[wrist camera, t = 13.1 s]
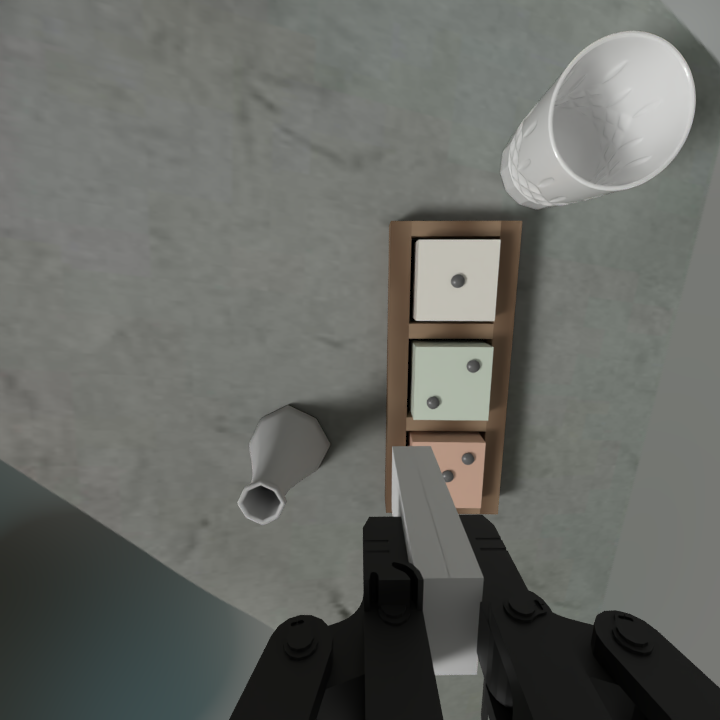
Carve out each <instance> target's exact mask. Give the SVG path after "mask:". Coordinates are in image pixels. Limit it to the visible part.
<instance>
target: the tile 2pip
mask: <svg viewBox="0 0 720 720" xmlns="http://www.w3.org/2000/svg"><path fill="white" fill-rule="evenodd" d="M493 349H494V347H492V346H491V345H489V344H487V343H485V342H483V341H456V340H411V370H410V405H409V407H410V410H411V414H412V417H413V420H480V421H488V416H489V403H490V389H491V376H492V362H493Z"/></svg>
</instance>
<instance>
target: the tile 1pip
mask: <svg viewBox="0 0 720 720" xmlns="http://www.w3.org/2000/svg"><path fill="white" fill-rule="evenodd" d="M500 243H501V240H418V241H416V242H415V243H414V257H413V292H412V317H413V318H414V319H415V320H416V321H495V310H496V297H497V283H498V270H499V256H500Z"/></svg>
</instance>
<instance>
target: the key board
mask: <svg viewBox="0 0 720 720" xmlns="http://www.w3.org/2000/svg"><path fill="white" fill-rule="evenodd" d="M521 232H522V221H391V222H390V225H389V277H388V340H387V402H386V465H385V504H386V513H392V446H406V431H478V432H479V434H480V435H481V437H482V438H483V440H484V441H485V442H486V446H485V460H484V473H483V487H482V500H481V508H456V510H457V512H458V514H498V505H499V493H500V481H501V469H502V457H503V446H504V434H505V422H506V410H507V398H508V386H509V374H510V363H511V351H512V339H513V327H514V315H515V303H516V291H517V280H518V268H519V256H520V244H521ZM411 239H490V240H501V243H500V256H499V270H498V283H497V297H496V310H495V321H416V320H409V308H410V271H411ZM409 338H411V339H483V342H485V343H487V344H489V345H491V346H492V347H494V349H493V362H492V376H491V389H490V403H489V416H488V421H480V420H413V417H412V414H411V410H410V408H407V381H408V344H409Z"/></svg>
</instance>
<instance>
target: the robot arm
mask: <svg viewBox="0 0 720 720" xmlns="http://www.w3.org/2000/svg"><path fill="white" fill-rule="evenodd" d="M392 515H393V517H369V518H368V520H367V522H366V523H365V525H364V527H363V580H364V594H363V601H362V603H361V605H360V607H359V608H358V610H357V611H356V612H355V613H354V614H353V615H352V616H350V617H349V618H348V619H345V620H343V621H341V622H339V623H335V624H332V625H329V626H328V625H327V624H326V623H325V622H324V621H323V620H322V619H319V618H317V617H315V616H312V615H299V616H296V617H293V618H289V619H288V620H286V621H285V622H283V623H282V624H281V625H279V626H278V627H277V629H276V630H275V632H274V633H273V634H272V636H271V637H270V639H269V641H268V643H267V646H266V648H265V649H264V652H263V654H262V655H261V658H260V659H259V661H258V663H257V665H256V667H255V669H254V671H253V673H252V675H251V677H250V679H249V681H248V683H247V685H246V687H245V689H244V691H243V693H242V695H241V697H240V699H239V701H238V703H237V705H236V707H235V709H234V711H233V713H232V715H231V717H230V719H229V720H443V716H442V710H441V705H440V700H439V694H438V689H437V684H436V678H435V675H477V663H478V659H479V662H480V665H481V668H482V672H483V675H484V684H483V697H482V709H481V720H488V716H489V719H490V720H720V688H719V687H718V686H717V685H716V684H715V683H714V682H712V681H711V680H710V679H709V678H708V677H707V676H706V675H705V674H703V672H702V671H701V670H699V669H698V668H697V667H696V666H695V665H694V664H693V663H692V662H691V661H690V660H689V659H687V658H686V657H685V656H684V655H683V654H682V653H681V652H680V651H679V650H677V648H675V647H674V646H673V645H672V644H671V643H670V642H669V641H668V640H666V638H664V637H663V636H662V635H661V634H660V633H659V632H658V631H657V630H656V629H654V628H653V627H651V626H650V625H649V624H647V623H646V622H645V621H643V620H641V619H639V618H637V617H635V616H633V615H631V614H628V613H624V612H620V611H604V612H602V613H600V614H598V615H597V617H596V619H595V622H594V625H591V624H587V623H583V622H579V621H575V620H572V619H568V618H565V617H562V616H559V615H557V614H555V613H553V612H552V611H551V609H550V608H549V606H548V605H547V604H546V603H545V601H544V600H543V599H541V598H540V597H539V596H537V595H536V594H535V593H533V592H531V591H529V590H528V589H527V587H526V585H525V583H524V581H523V579H522V577H521V576H520V574H519V572H518V570H517V568H516V566H515V564H514V562H513V560H512V558H511V557H510V555H509V553H508V551H506V547H505V545H504V543H503V541H502V540H501V537H500V536H499V534H498V532H497V530H496V528H495V526H494V525H493V524H492V523H491V522H490V521H489V520H488V519H486V518H485V517H484V516H483V515H458V512H457V510H456V507H455V505H454V502H453V500H452V497H451V495H450V492H449V490H448V487H447V485H446V482H445V480H444V477H443V475H442V473H441V470H440V468H439V465H438V463H437V460H436V458H435V455H434V453H433V450H432V448H431V446H392Z"/></svg>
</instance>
